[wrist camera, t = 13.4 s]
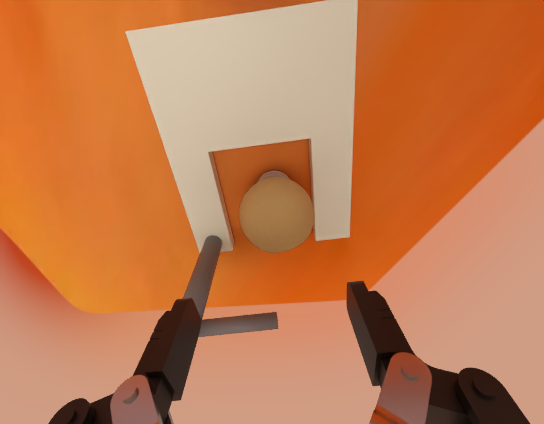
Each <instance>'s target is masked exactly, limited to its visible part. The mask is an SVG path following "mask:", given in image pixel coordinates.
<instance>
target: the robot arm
mask: <svg viewBox="0 0 544 424" xmlns="http://www.w3.org/2000/svg"><path fill="white" fill-rule="evenodd" d="M347 310H348V314H349V318H350V320H351V323H352V326H353V329H354V332H355V335H356V338H357V341H358V344H359V347H360V350H361V353H362V356H363V359H364V362H365V365H366V368H367V371H368V374H369V377H370V379H371V382H372V385H373V386H379V385H380V386H381V392H380V395H379V399H378V402H377V405H376V408H375V410H374V412H373V414H372V417H371V420H370V423H369V424H530V423H529V421H528V420H527V418H526V417H525V416H524V414H523V413H522V411H521V410H520V409H519V407H518V406H517V404H516V403H515V402H514V400H513V399H512V397H511V396H510V395H509V393H508V392H507V390H506V389H505V387H504V386H503V385H502V384H501V383H500V382H499V381H498V380H497V379H496V378H495V377H493V376H492V375H490V374H489V373H487V372H485V371H483V370H480V369H477V368H465V369H463V370H461V371H460V373H459V374H457V373H453V372H449V371H445V370H441V369H437V368H434V367H431V366H429V365H427V364H426V363H424V362H423V361H422V360H421V359H420V358H418V357H417V356H416V355H415V354H414V353H413V351H412V349H411V348H410V346H409V344H408V342H407V340H406V338H405V336H404V334H403V332H402V331H401V329H400V327H399V325H398V323H397V321H396V319H395V318H394V315H393V314H392V312H391V310H390V308H389V306H388V304H387V302H386V300H385V299H384V298H383V297H382V296H381V295H380V294H379V293H378V292H377V291H368V290H367V288H366V285H365V283H364V282H363V281H356V282H348V283H347ZM200 329H201V318H200V315H199V312H198V310H197V307H196V305H195V303H194V300H193V299H192V298H185V299H177V300H176V301H175V303H174V305H173V307H172V310H171V311H166V312H165V313H164V315H163V316H162V317H161V318H160V319H159V320H158V323H157V325H156V327H155V329H154V332H153V333H152V335H151V338H150V341H149V342H148V344H147V346H146V348H145V351H144V353H143V355H142V357H141V359H140V361H139V364H138V366H137V368H136V370H135V372H134V374H133V376H132V377H130V378H129V379H127V380H126V381H124V382H123V383H122V384H121V385H120V386H119V387H118V388H117V390H116V391H115V393H113V394H111V395H109V396H107V397H104V398H102V399H100V400H97V401H95V402H93V403H89V402H88V401H87V400H86V399H83V398H79V399H75V400H73V401H71V402H69V403H67V404H66V405H65V406H63V407H62V408H61V409H60V410H59V411H58V412H57V413H56V414H55V415H54V417H53V418H52V419H51V421H50V422H49V424H174V423H173V421H172V417H171V414H170V412H169V408H170V405H171V402H172V401H177V400H181V397H182V394H183V390H184V387H185V383H186V379H187V376H188V372H189V368H190V365H191V361H192V358H193V354H194V351H195V347H196V343H197V340H198V336H199V333H200Z"/></svg>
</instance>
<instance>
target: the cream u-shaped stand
mask: <svg viewBox="0 0 544 424" xmlns="http://www.w3.org/2000/svg"><path fill="white" fill-rule="evenodd" d="M357 8H358V0H326V1H320V2H313V3H307V4H300V5H294V6H287V7H281V8H274V9H268V10H262V11H255V12H249V13H242V14H236V15H229V16H223V17H216V18H210V19H203V20H197V21H190V22H184V23H177V24H171V25H164V26H158V27H151V28H145V29H138V30H132V31H125V32H126V35H127V38H128V41H129V44H130V47H131V50H132V53H133V56H134V59H135V62H136V65H137V68H138V71H139V74H140V77H141V80H142V83H143V86H144V88H145V91H146V94H147V97H148V100H149V103H150V106H151V109H152V112H153V115H154V118H155V121H156V124H157V127H158V130H159V133H160V136H161V139H162V142H163V145H164V148H165V151H166V154H167V157H168V160H169V163H170V166H171V169H172V172H173V175H174V178H175V181H176V184H177V187H178V190H179V193H180V195H181V198H182V201H183V204H184V207H185V210H186V213H187V216H188V219H189V222H190V225H191V228H192V231H193V234H194V237H195V240H196V243H197V246H198V249H199V252H200V255H199V258H198V260H197V263H196V266H195V268H194V271H193V273H192V276H191V279H190V281H189V284H188V287H187V289H186V292H185V294H184V297H183V299H185V298H192V299H193V300H194V303H195V305H196V307H197V310H198V312H199V315H200V318H201V329H200V333H199V336H198V337H204V336H214V335H223V334H233V333H243V332H253V331H263V330H272V329H278V320H277V313H276V312H272V313H262V314H254V315H243V316H235V317H224V318H215V319H206V320H202V317H203V313H204V309H205V306H206V302H207V299H208V295H209V291H210V287H211V284H212V280H213V276H214V272H215V269H216V265H217V261H218V257H219V254H220V252H226V251H233V248H234V239H233V235H232V231H231V227H230V223H229V219H228V215H227V210H226V206H225V202H224V198H223V194H222V190H221V186H220V182H219V178H218V174H217V170H216V165H215V161H214V157H213V153H212V151H219V150H227V149H234V148H242V147H249V146H257V145H265V144H272V143H280V142H287V141H295V140H302V139H309V156H310V176H311V195H312V204H313V208H314V224H313V234H314V237H315V240H316V241H320V240H329V239H337V238H346V237H350V212H351V183H352V154H353V125H354V95H355V66H356V37H357Z"/></svg>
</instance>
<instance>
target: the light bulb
mask: <svg viewBox="0 0 544 424" xmlns="http://www.w3.org/2000/svg"><path fill="white" fill-rule="evenodd" d="M239 221H240V224H241V228H242V230H243V232H244V234H245V235H246V237H247V238H248V240H249V241H250V242H251V243H252V244H253V245H255V246H256V247H257V248H259V249H261V250H263V251H265V252H269V253H278V252H284V251H287V250H290V249H293V248H295V247H297V246H299V245H300V244H301V243H302V242H304V241H305V240H306V239H307V237H308V236H309V234H310V233H311V230H312V227H313V224H314V208H313V204H312V201H311V199H310V197H309V195H308V193H307V192H306V191H305V190H304V188H302V187H301V186H300V185H299V184H298V183H296V182H294V181H292V180H290V179H289V178H288V176H287V175H286V174H285V173H283V172H281V171H275V170H273V171H268V172H266V173H264V174H263V175H262V176H261V177H260V178H259V180H258V183H256V184H254V185H253V186H252V187H251V188H250V189H249V190H248V191H247V192H246V194H245V195H244V197H243V199H242V201H241V204H240V209H239Z"/></svg>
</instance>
